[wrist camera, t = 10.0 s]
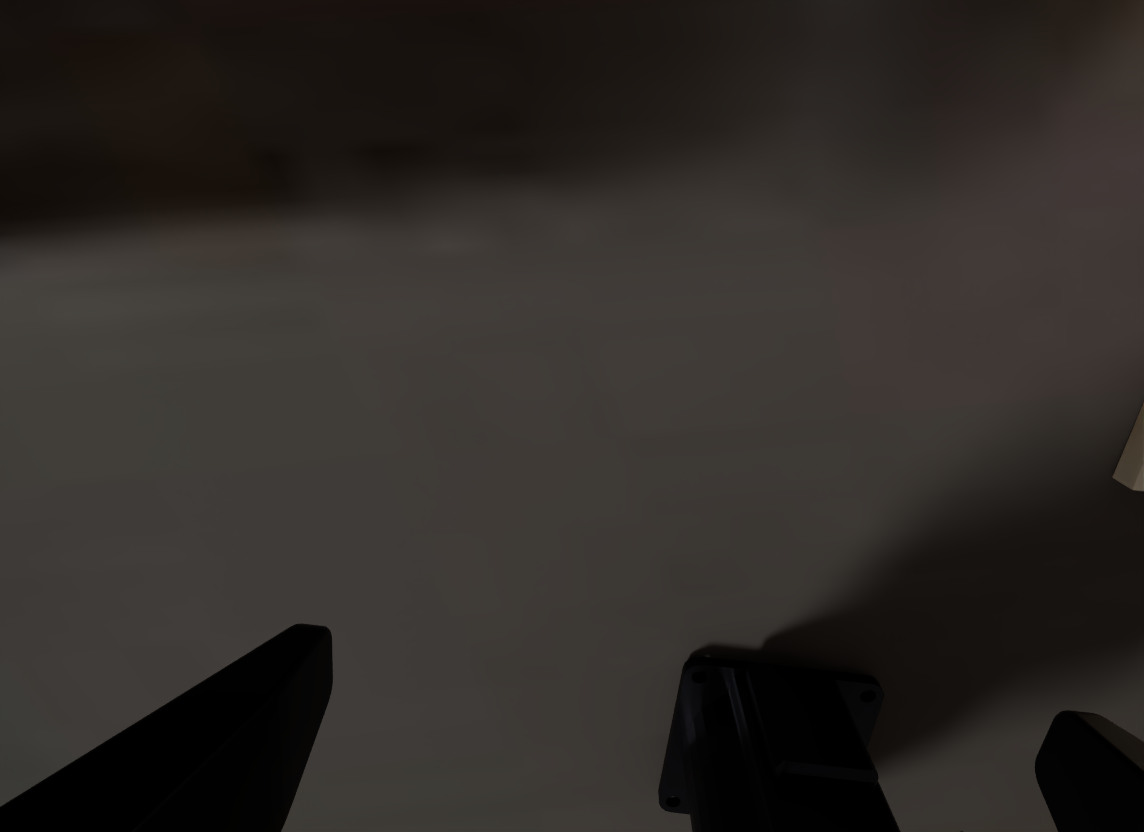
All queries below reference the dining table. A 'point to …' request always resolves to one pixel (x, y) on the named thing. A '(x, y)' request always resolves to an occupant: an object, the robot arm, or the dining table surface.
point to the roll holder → (1133, 458)
